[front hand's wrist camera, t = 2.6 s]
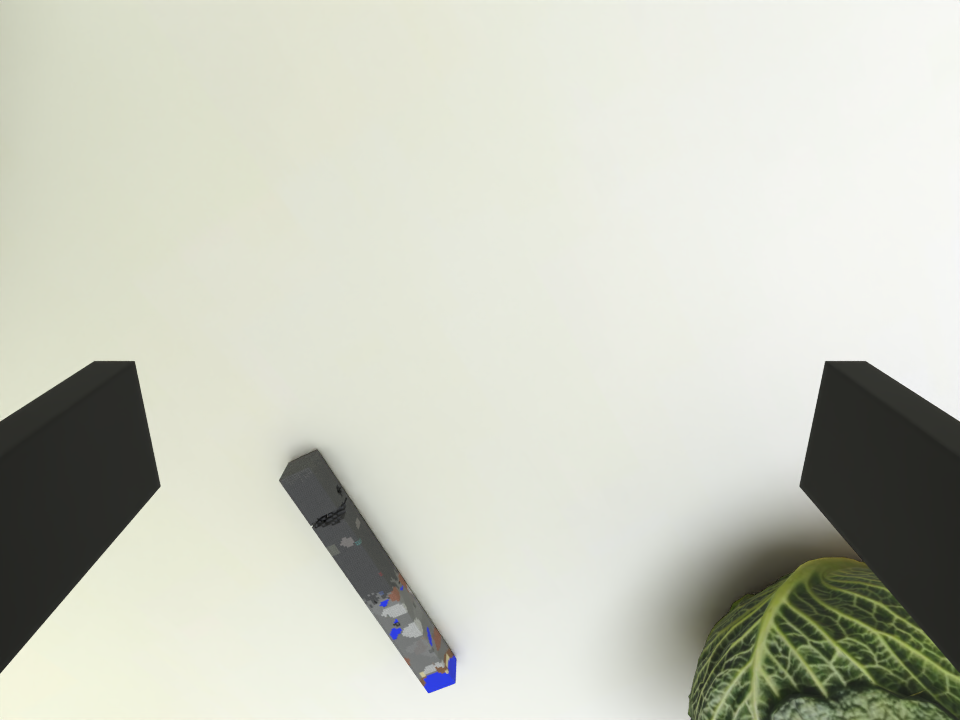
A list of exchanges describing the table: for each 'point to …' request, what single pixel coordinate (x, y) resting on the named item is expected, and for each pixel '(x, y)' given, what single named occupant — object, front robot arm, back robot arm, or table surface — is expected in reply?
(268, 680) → the table surface
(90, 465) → the front robot arm
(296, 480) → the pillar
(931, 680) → the vegetable
